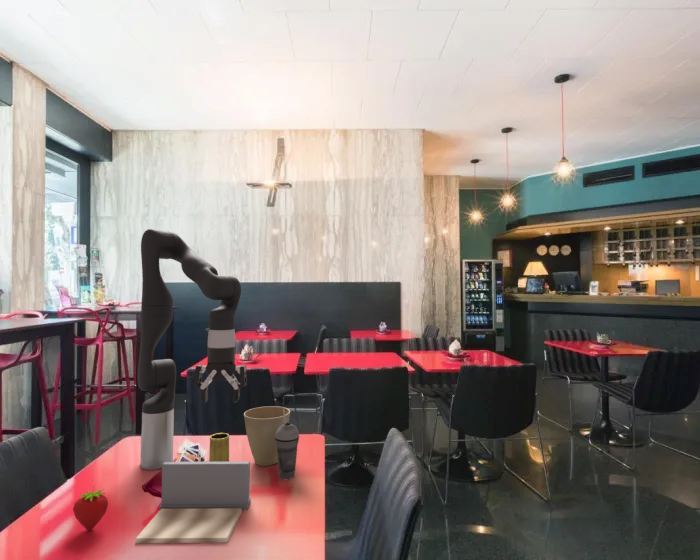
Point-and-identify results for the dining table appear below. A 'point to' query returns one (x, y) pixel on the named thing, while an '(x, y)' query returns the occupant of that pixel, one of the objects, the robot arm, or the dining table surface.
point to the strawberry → (90, 508)
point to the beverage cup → (286, 449)
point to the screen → (205, 485)
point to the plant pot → (264, 432)
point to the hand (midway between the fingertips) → (220, 402)
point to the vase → (219, 447)
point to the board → (190, 526)
